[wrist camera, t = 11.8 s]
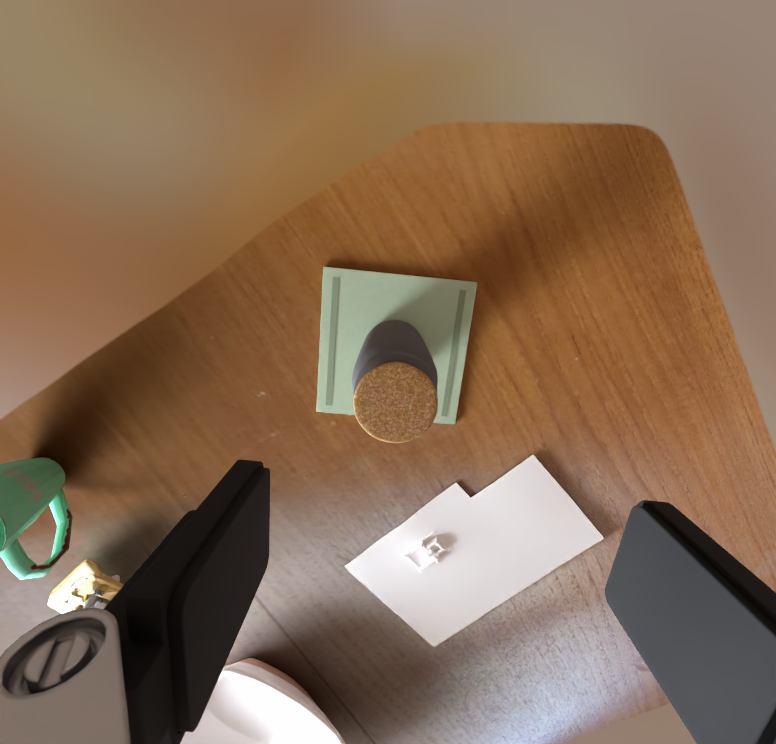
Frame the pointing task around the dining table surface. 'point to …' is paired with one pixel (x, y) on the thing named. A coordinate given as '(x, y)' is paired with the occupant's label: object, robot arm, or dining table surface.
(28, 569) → the mug
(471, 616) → the paper
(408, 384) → the bottle
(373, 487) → the dining table surface
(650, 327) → the dining table surface
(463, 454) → the dining table surface
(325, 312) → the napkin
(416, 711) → the dining table surface
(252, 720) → the bowl
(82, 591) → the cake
